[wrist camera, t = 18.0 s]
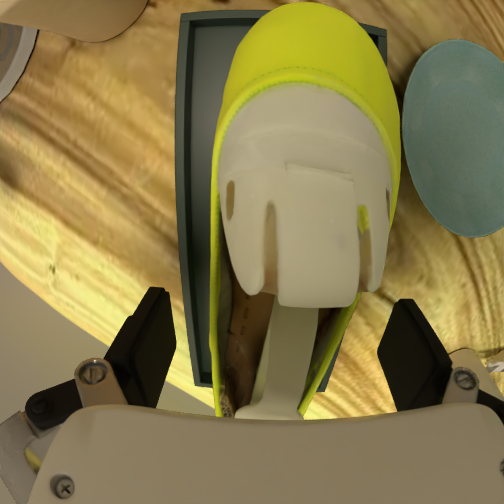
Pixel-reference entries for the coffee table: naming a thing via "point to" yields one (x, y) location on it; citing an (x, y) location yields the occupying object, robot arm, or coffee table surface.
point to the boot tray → (208, 158)
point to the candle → (74, 16)
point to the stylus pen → (496, 363)
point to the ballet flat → (297, 205)
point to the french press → (14, 54)
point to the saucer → (457, 136)
